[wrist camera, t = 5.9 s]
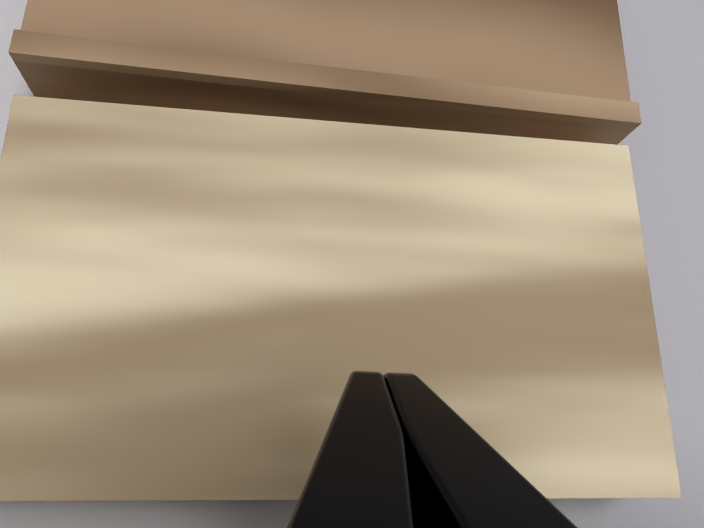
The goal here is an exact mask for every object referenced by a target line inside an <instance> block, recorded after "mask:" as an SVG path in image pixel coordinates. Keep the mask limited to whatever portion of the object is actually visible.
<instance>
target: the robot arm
mask: <svg viewBox="0 0 704 528" xmlns="http://www.w3.org/2000/svg"><path fill="white" fill-rule="evenodd" d="M287 528H577V527H576V526H575V525H574V524H573V523H572V522H571V521H570V520H569V519H568V518H567V517H566V516H565V515H564V514H563V513H562V512H560V511H559V510H558V509H557V508H556V507H555V506H554V505H553V504H552V503H551V502H550V501H549V500H548V499H547V498H546V497H545V496H544V495H543V494H541V493H540V492H539V491H538V490H537V489H536V488H535V487H534V486H533V485H532V484H531V483H530V482H529V481H528V480H527V479H526V478H525V477H524V476H522V475H521V474H520V473H519V472H518V471H517V470H516V469H515V468H514V467H513V466H512V465H511V464H510V463H509V462H508V461H507V460H506V459H504V458H503V457H502V456H501V455H500V454H499V453H498V452H497V451H496V450H495V449H494V448H493V447H492V446H491V445H490V444H489V443H488V442H487V441H485V440H484V439H483V438H482V437H481V436H480V435H479V434H478V433H477V432H476V431H475V430H474V429H473V428H472V427H471V426H470V425H469V424H468V423H466V422H465V421H464V420H463V419H462V418H461V417H460V416H459V415H458V414H457V413H456V412H455V411H454V410H453V409H452V408H451V407H450V406H448V405H447V404H446V403H445V402H444V401H443V400H442V399H441V398H440V397H439V396H438V395H437V394H436V393H435V392H434V391H433V390H432V389H431V388H429V387H428V386H427V385H426V384H425V383H424V382H423V381H422V380H421V379H420V378H419V377H418V376H416V375H415V374H412V373H392V372H388V373H386V374H384V376H383V374H382V373H380V372H372V371H353V372H352V373H351V374H350V376H349V378H348V381H347V383H346V386H345V388H344V391H343V393H342V395H341V398H340V400H339V403H338V405H337V408H336V410H335V413H334V415H333V417H332V420H331V422H330V425H329V427H328V430H327V432H326V435H325V437H324V439H323V442H322V444H321V447H320V449H319V452H318V454H317V457H316V459H315V461H314V464H313V466H312V469H311V471H310V474H309V476H308V478H307V481H306V483H305V486H304V488H303V491H302V493H301V496H300V498H299V500H298V503H297V505H296V508H295V510H294V513H293V515H292V518H291V520H290V522H289V525H288V527H287Z"/></svg>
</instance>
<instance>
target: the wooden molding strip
mask: <svg viewBox="0 0 704 528" xmlns="http://www.w3.org/2000/svg"><path fill="white" fill-rule="evenodd" d="M9 54H10V56H11V57H12V59H13V61H14V62H15V64H16V66H17V68H18V69H19V71H20V73H21V74H22V76H23V78H24V79H25V81H26V83H27V84H28V86H29V88H30V90H31V91H32V93H33V95H34V97H44V98H56V99H68V100H80V101H93V102H105V103H117V104H129V105H141V106H153V107H165V108H177V109H190V110H202V111H214V112H226V113H238V114H250V115H262V116H275V117H287V118H299V119H311V120H323V121H335V122H347V123H359V124H372V125H384V126H396V127H408V128H420V129H432V130H444V131H457V132H469V133H481V134H493V135H505V136H517V137H529V138H541V139H554V140H566V141H578V142H590V143H602V144H614V145H617V144H618V143H619V142H621V141H622V140H623V139H624V138H625V137H626V136H627V135H628V134H630V133H631V132H632V131H633V130H634V129H635V128H636V127H638V126H639V125H640V124H641V118H640V111H639V104H638V103H637V102H631V101H630V94H629V87H628V79H627V72H626V64H625V57H624V50H623V42H622V35H621V28H620V20H619V13H618V6H617V0H28V2H27V6H26V10H25V14H24V18H23V23H22V27H21V30H14V31H13V36H12V40H11V44H10V48H9Z"/></svg>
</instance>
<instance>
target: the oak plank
mask: <svg viewBox="0 0 704 528" xmlns="http://www.w3.org/2000/svg"><path fill="white" fill-rule="evenodd" d="M353 371H372V372H380V373H382V374H383V376H384V374H386V373H388V372H392V373H412V374H415V375H416V376H418V377H419V378H420V379H421V380H422V381H423V382H424V383H425V384H426V385H427V386H428V387H429V388H431V389H432V390H433V391H434V392H435V393H436V394H437V395H438V396H439V397H440V398H441V399H442V400H443V401H444V402H445V403H446V404H447V405H448V406H450V407H451V408H452V409H453V410H454V411H455V412H456V413H457V414H458V415H459V416H460V417H461V418H462V419H463V420H464V421H465V422H466V423H468V424H469V425H470V426H471V427H472V428H473V429H474V430H475V431H476V432H477V433H478V434H479V435H480V436H481V437H482V438H483V439H484V440H485V441H487V442H488V443H489V444H490V445H491V446H492V447H493V448H494V449H495V450H496V451H497V452H498V453H499V454H500V455H501V456H502V457H503V458H504V459H506V460H507V461H508V462H509V463H510V464H511V465H512V466H513V467H514V468H515V469H516V470H517V471H518V472H519V473H520V474H521V475H522V476H524V477H525V478H526V479H527V480H528V481H529V482H530V483H531V484H532V485H533V486H534V487H535V488H536V489H537V490H538V491H539V492H540V493H541V494H543V495H544V496H545V497H546V498H682V497H681V491H680V484H679V477H678V471H677V464H676V457H675V451H674V444H673V437H672V431H671V424H670V418H669V411H668V404H667V398H666V391H665V384H664V378H663V371H662V365H661V358H660V351H659V345H658V338H657V331H656V325H655V318H654V311H653V305H652V298H651V292H650V285H649V278H648V272H647V265H646V258H645V252H644V245H643V239H642V232H641V225H640V219H639V212H638V205H637V199H636V192H635V185H634V179H633V172H632V166H631V159H630V152H629V146H626V145H614V144H602V143H590V142H578V141H566V140H554V139H541V138H529V137H517V136H505V135H493V134H481V133H469V132H457V131H444V130H432V129H420V128H408V127H396V126H384V125H372V124H359V123H347V122H335V121H323V120H311V119H299V118H287V117H275V116H262V115H250V114H238V113H226V112H214V111H202V110H190V109H177V108H165V107H153V106H141V105H129V104H117V103H105V102H93V101H80V100H68V99H56V98H44V97H32V96H20V95H13V99H12V105H11V110H10V115H9V120H8V125H7V130H6V135H5V140H4V145H3V150H2V155H1V160H0V501H162V500H299V498H300V496H301V493H302V491H303V488H304V486H305V483H306V481H307V478H308V476H309V474H310V471H311V469H312V466H313V464H314V461H315V459H316V457H317V454H318V452H319V449H320V447H321V444H322V442H323V439H324V437H325V435H326V432H327V430H328V427H329V425H330V422H331V420H332V417H333V415H334V413H335V410H336V408H337V405H338V403H339V400H340V398H341V395H342V393H343V391H344V388H345V386H346V383H347V381H348V378H349V376H350V374H351V373H352V372H353Z"/></svg>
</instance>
